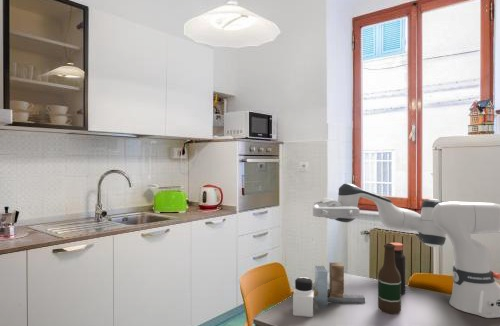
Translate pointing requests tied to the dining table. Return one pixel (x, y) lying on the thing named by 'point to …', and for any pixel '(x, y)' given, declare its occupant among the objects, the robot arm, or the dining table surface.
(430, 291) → the dining table surface
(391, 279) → the beer bottle
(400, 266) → the vinegar
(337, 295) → the carriage
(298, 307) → the medicine bottle
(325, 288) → the rail and cabinet
